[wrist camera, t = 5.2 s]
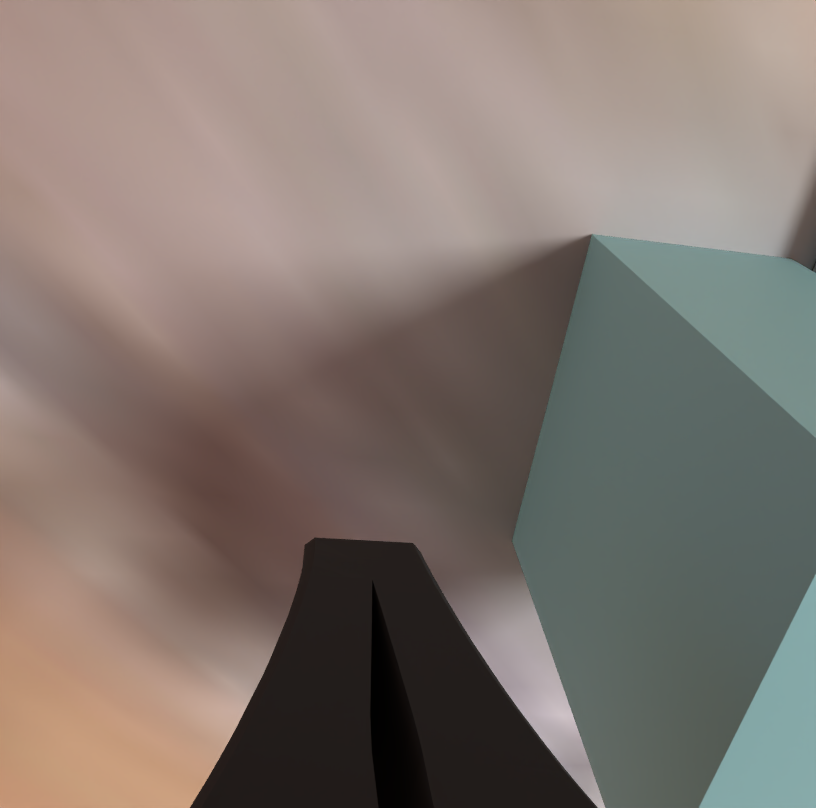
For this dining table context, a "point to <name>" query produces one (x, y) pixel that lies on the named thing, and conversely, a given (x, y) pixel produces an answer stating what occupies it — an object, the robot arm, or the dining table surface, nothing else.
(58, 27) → the dining table surface
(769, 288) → the teal block
